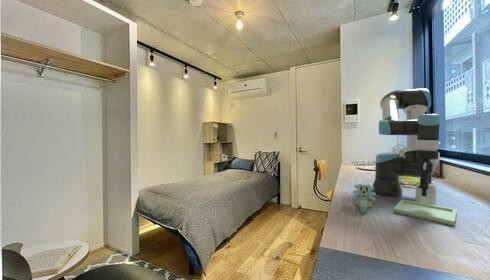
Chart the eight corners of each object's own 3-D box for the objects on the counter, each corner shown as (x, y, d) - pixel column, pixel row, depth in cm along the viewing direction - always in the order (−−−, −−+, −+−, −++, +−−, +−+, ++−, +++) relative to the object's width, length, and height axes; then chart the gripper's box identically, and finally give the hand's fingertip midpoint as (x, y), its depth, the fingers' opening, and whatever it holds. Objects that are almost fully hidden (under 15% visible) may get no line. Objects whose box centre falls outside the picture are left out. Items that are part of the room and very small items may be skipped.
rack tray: (393, 212, 101) (393, 208, 101) (401, 203, 113) (401, 199, 113) (454, 226, 87) (454, 221, 86) (456, 213, 98) (456, 209, 98)
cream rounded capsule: (414, 202, 99) (414, 184, 99) (416, 198, 104) (417, 181, 104) (434, 205, 94) (435, 187, 94) (436, 202, 99) (437, 184, 99)
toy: (356, 212, 99) (349, 179, 105) (357, 216, 110) (350, 185, 116) (383, 211, 95) (374, 176, 101) (380, 214, 106) (372, 183, 112)
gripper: (436, 152, 88) (433, 209, 89) (440, 148, 102) (438, 198, 103) (412, 150, 93) (410, 204, 95) (420, 147, 107) (418, 194, 109)
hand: (425, 201), depth 99 cm, fingers closed on cream rounded capsule, 7 cm apart
